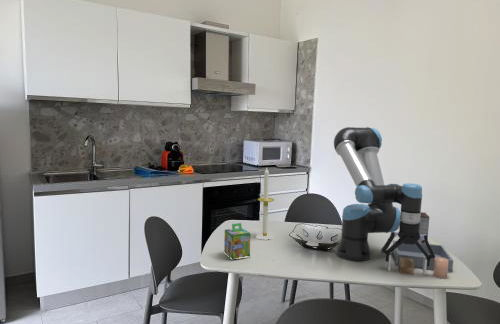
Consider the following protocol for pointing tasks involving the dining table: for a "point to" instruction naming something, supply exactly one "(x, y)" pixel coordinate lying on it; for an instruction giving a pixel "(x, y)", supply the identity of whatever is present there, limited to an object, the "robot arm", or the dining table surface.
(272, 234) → the dining table surface
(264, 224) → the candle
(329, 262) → the dining table surface
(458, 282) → the dining table surface
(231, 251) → the chalk box
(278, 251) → the dining table surface
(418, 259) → the tray
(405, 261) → the walnut cube
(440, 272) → the terracotta cylinder
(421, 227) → the coffee box
